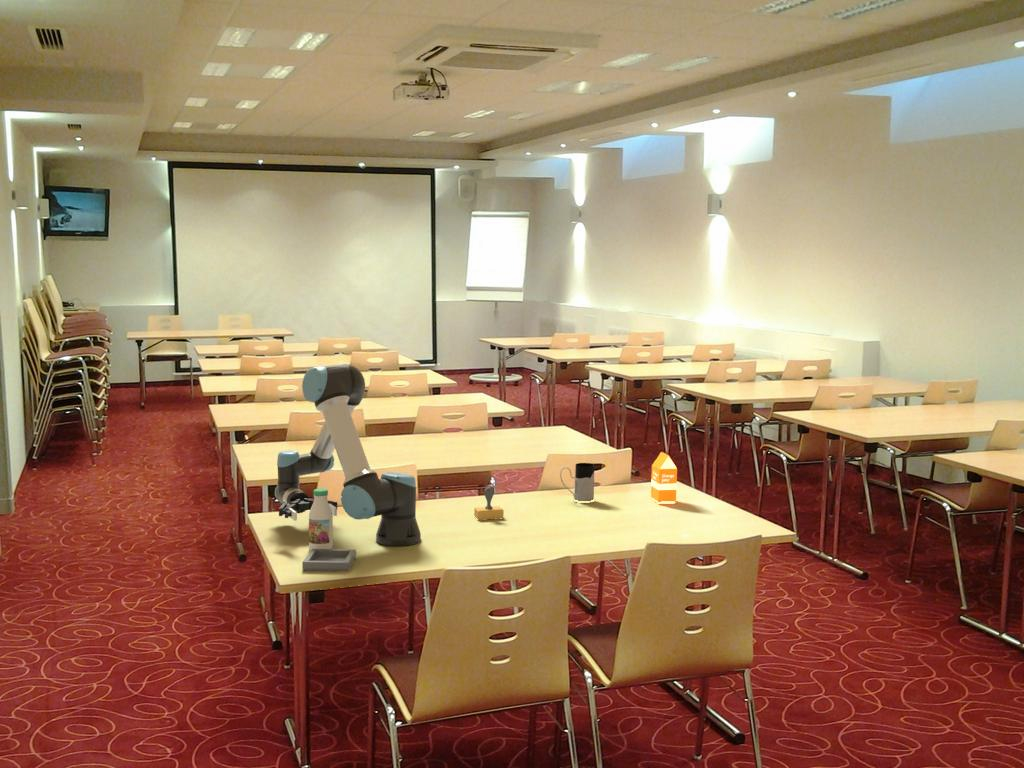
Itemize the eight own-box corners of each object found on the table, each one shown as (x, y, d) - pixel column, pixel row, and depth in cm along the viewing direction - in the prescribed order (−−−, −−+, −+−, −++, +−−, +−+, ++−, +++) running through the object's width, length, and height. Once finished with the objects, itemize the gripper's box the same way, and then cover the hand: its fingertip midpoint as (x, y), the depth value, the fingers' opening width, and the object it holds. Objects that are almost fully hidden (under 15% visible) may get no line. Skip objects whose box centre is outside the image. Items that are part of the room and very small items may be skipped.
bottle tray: (356, 558, 305) (355, 549, 304) (348, 571, 291) (348, 562, 290) (312, 557, 305) (312, 548, 304) (302, 570, 291) (302, 561, 290)
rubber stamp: (477, 520, 353) (478, 489, 352) (474, 517, 359) (474, 485, 357) (503, 519, 356) (504, 487, 354) (499, 515, 361) (499, 484, 360)
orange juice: (657, 504, 382) (659, 455, 379) (650, 499, 390) (652, 451, 388) (676, 504, 383) (678, 455, 381) (668, 499, 392) (670, 451, 390)
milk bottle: (316, 545, 318) (315, 486, 316) (337, 547, 316) (336, 488, 314) (304, 551, 311) (304, 491, 309) (326, 553, 309) (325, 493, 306)
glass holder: (595, 503, 382) (596, 467, 380) (560, 503, 381) (561, 466, 380) (593, 498, 390) (594, 462, 389) (558, 498, 390) (559, 462, 388)
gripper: (331, 507, 340) (351, 521, 322) (261, 515, 328) (278, 529, 310) (330, 486, 339) (351, 499, 321) (260, 493, 327) (278, 507, 309)
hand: (315, 514), depth 315 cm, fingers open, 13 cm apart
